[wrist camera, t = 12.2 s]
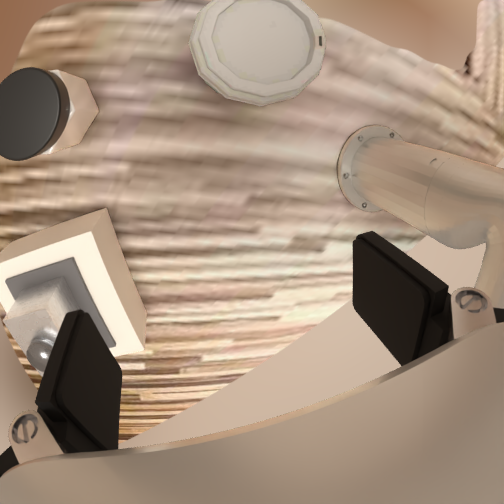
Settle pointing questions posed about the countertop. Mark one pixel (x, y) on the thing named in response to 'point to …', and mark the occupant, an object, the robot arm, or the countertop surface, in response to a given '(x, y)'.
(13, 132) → the jar
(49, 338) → the housing
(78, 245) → the stand
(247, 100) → the disposable coffee cup
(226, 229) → the countertop surface
